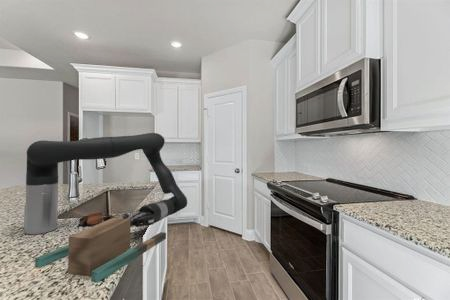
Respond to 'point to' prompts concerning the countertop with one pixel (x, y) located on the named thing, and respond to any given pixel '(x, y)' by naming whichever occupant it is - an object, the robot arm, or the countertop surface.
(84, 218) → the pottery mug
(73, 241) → the walnut block
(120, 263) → the lane
